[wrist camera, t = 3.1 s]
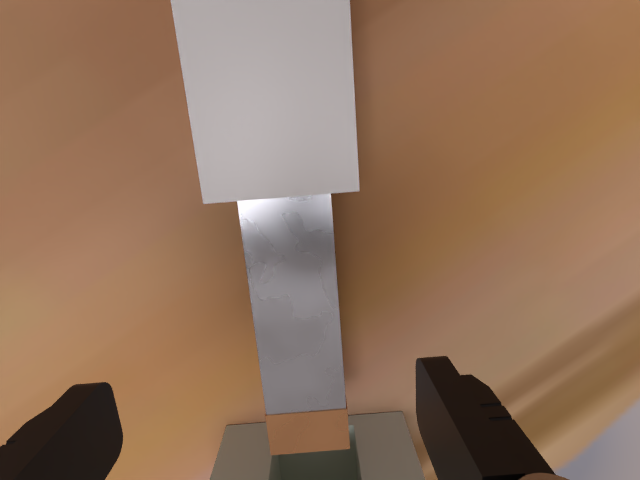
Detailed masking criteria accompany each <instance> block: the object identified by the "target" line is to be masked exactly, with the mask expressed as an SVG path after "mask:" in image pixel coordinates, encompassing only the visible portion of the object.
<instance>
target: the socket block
mask: <svg viewBox="0 0 640 480" xmlns="http://www.w3.org/2000/svg"><path fill="white" fill-rule="evenodd" d="M348 425H349V439H350V449H343V450H331V451H318V452H306V453H294V454H281V455H271V454H270V447H269V439H268V432H267V425H266V422H264V423H251V424H239V425H227V426H226V429H225V432H224V435H223V438H222V442H221V445H220V448H219V451H218V455H217V458H216V461H215V464H214V467H213V471H212V474H211V477H210V480H425V477H424V474H423V471H422V468H421V465H420V462H419V459H418V456H417V453H416V450H415V448H414V445H413V442H412V439H411V436H410V433H409V430H408V427H407V424H406V421H405V418H404V415H403V412H402V411H399V412H387V413H375V414H362V415H350V416H348Z"/></svg>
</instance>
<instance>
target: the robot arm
mask: <svg viewBox="0 0 640 480" xmlns="http://www.w3.org/2000/svg"><path fill="white" fill-rule="evenodd" d="M416 414H417V421H418V426H419V430H420V434H421V437H422V439H423V442H424V444H425V447H426V450H427V452H428V455H429V457H430V460H431V462H432V465H433V467H434V470H435V473H436V475H437V478H438V480H568V479H566V478H564V477H560V476H558V475H556V474H555V473H554V472H553V470H552V469H551V468H550V466H549V465H548V464H547V463H546V461H545V460H544V459H543V457H542V456H541V455H540V453H539V452H538V451H537V449H536V448H535V447H534V445H533V444H532V443H531V441H530V440H529V439H528V437H527V436H526V435H525V434H524V432H523V431H522V430H521V428H520V427H519V426H518V424H517V423H516V422H515V420H512V418H511V415H510V414H509V412H508V411H507V410H506V408H505V407H504V406H502V405H501V402H500V401H499V399H498V398H497V397H496V395H495V394H494V393H493V391H492V390H491V389H490V387H489V386H487V385H486V384H484V383H483V382H481V381H480V380H478V379H477V378H475V377H474V376H472V375H460V374H459V373H458V371H457V370H456V369H455V367H454V366H453V364H452V363H451V361H450V360H449V358H448V357H447V356H440V357H427V358H418V359H417V360H416ZM122 443H123V432H122V427H121V423H120V419H119V415H118V411H117V407H116V403H115V398H114V394H113V390H112V388H111V386H110V384H108V383H106V382H101V383H89V384H76V385H73V386H72V387H70V388H69V389H68V390H67V391H66V392H65V393H64V394H63V395H62V396H61V397H60V398H59V399H58V400H57V401H56V402H55V403H54V404H53V405H52V406H51V407H49V408H48V409H46V410H45V411H43V412H42V413H40V414H39V415H37V416H36V417H34V418H32V419H31V420H29V421H28V422H26V423H25V424H24V425H23V426H22V427H21V428H20V429H19V430H18V431H17V432H16V433H15V434H14V435H13V436H11V437H10V438H9V439H8V440H7V443H6V445H2V446H1V447H0V480H105V478H106V477H107V475H108V474H109V472H110V470H111V469H112V467H113V466H114V464H115V462H116V461H117V459H118V457H119V455H120V452H121V448H122Z"/></svg>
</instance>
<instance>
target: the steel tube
mask: <svg viewBox="0 0 640 480" xmlns="http://www.w3.org/2000/svg"><path fill="white" fill-rule="evenodd" d="M237 204H238V211H239V218H240V226H241V233H242V240H243V248H244V255H245V262H246V270H247V277H248V284H249V292H250V299H251V306H252V314H253V321H254V328H255V335H256V343H257V350H258V357H259V365H260V372H261V379H262V387H263V394H264V401H265V409H266V415H265V418H266V425H267V432H268V439H269V447H270V454H271V455H281V454H294V453H306V452H318V451H331V450H343V449H350V439H349V425H348V411H347V403H346V395H345V384H344V370H343V356H342V342H341V328H340V314H339V301H338V287H337V273H336V259H335V245H334V231H333V217H332V203H331V194H319V195H307V196H295V197H283V198H270V199H258V200H246V201H237Z"/></svg>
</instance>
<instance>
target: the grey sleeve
mask: <svg viewBox="0 0 640 480" xmlns="http://www.w3.org/2000/svg"><path fill="white" fill-rule="evenodd" d="M171 5H172V12H173V18H174V24H175V30H176V37H177V43H178V49H179V55H180V61H181V68H182V74H183V80H184V86H185V93H186V99H187V105H188V111H189V118H190V124H191V130H192V136H193V143H194V149H195V155H196V161H197V168H198V174H199V180H200V186H201V193H202V199H203V204H209V203H221V202H234V201H246V200H258V199H270V198H283V197H295V196H307V195H319V194H332V193H344V192H356V191H360V189H359V169H358V150H357V131H356V112H355V92H354V73H353V54H352V35H351V16H350V0H171Z"/></svg>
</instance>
